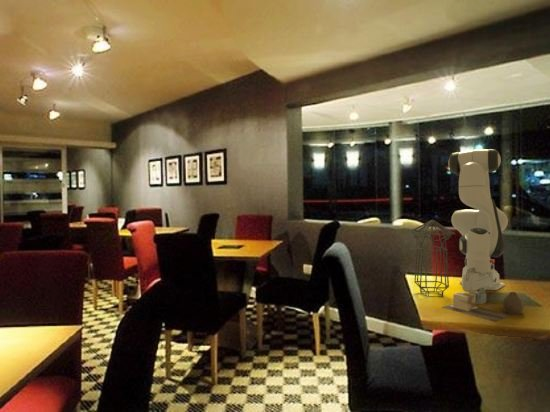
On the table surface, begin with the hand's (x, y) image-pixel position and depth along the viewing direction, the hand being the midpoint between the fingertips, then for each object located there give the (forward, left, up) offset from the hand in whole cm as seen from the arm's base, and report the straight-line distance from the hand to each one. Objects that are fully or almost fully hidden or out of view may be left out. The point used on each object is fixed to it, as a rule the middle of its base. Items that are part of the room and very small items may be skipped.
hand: (477, 298), depth 177 cm
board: (+13, +7, -3) cm, 15 cm away
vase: (+3, +16, -3) cm, 16 cm away
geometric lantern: (+2, -21, -3) cm, 22 cm away
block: (+12, +1, -1) cm, 12 cm away
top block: (0, 0, -2) cm, 2 cm away
